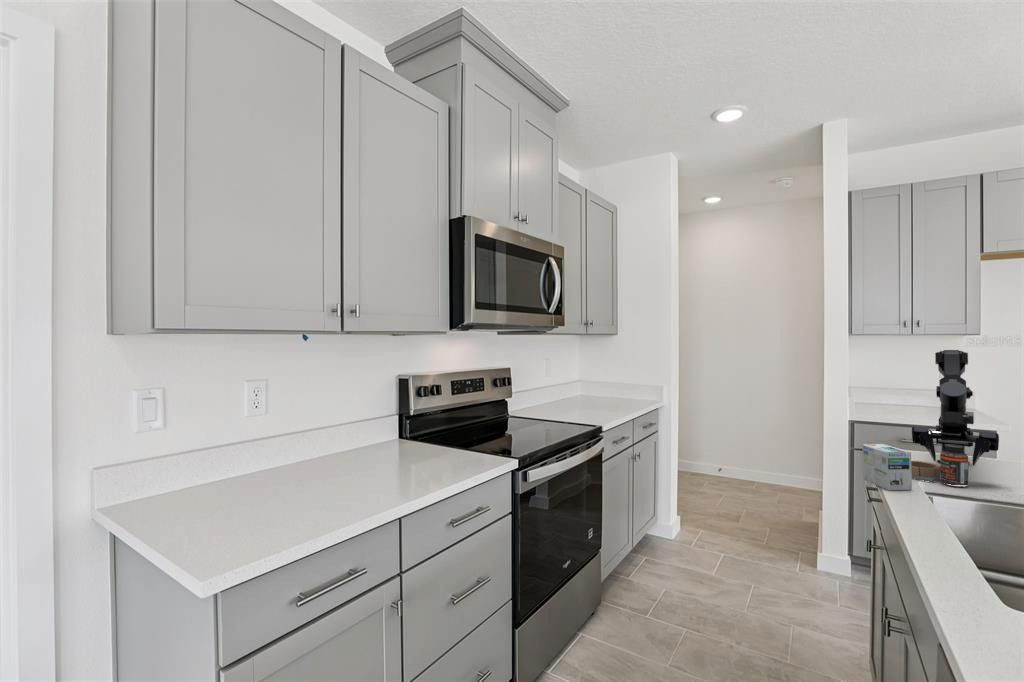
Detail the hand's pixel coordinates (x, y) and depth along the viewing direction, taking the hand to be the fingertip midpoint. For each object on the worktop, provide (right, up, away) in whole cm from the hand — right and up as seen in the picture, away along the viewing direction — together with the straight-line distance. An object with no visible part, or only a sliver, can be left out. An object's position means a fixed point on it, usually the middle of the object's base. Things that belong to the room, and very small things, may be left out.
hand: (953, 462), depth 140 cm
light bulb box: (-17, -7, +3) cm, 19 cm away
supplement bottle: (+1, -7, +1) cm, 7 cm away
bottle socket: (-1, -7, +10) cm, 12 cm away
